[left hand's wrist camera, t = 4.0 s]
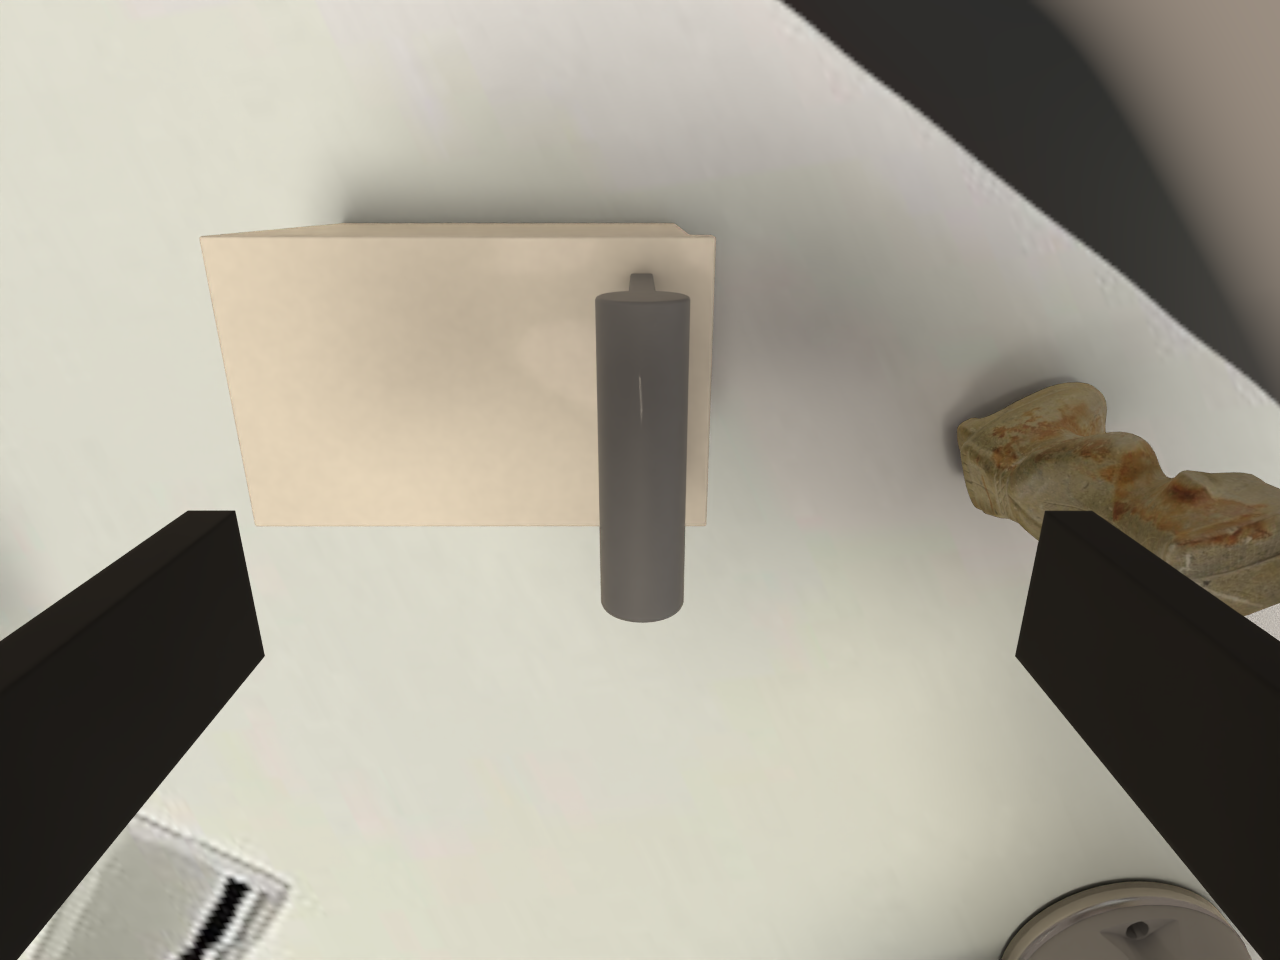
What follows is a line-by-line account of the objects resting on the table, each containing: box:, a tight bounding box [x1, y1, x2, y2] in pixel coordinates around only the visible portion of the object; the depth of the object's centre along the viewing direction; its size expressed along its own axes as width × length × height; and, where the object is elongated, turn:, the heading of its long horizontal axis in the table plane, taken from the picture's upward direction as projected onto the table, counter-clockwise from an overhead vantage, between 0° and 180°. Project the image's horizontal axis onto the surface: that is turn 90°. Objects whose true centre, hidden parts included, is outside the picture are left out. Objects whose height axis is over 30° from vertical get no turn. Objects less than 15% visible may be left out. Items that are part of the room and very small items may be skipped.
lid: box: [200, 235, 716, 623], centre depth 22 cm, size 16×10×9 cm, turn 90°
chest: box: [220, 223, 689, 235], centre depth 31 cm, size 15×10×11 cm, turn 90°
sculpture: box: [957, 382, 1280, 616], centre depth 30 cm, size 6×7×15 cm
